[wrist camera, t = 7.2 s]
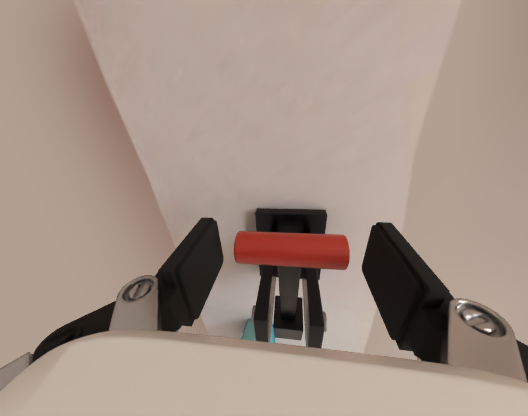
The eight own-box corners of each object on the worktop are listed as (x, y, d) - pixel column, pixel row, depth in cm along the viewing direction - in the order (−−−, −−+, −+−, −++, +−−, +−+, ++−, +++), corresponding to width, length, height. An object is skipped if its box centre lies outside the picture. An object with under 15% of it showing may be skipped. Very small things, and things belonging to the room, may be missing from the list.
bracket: (256, 208, 23) (227, 291, 13) (325, 209, 22) (355, 301, 12) (261, 269, 28) (242, 367, 17) (318, 273, 26) (334, 379, 16)
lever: (240, 218, 10) (229, 260, 8) (343, 221, 9) (354, 267, 7) (261, 306, 18) (258, 335, 16) (316, 311, 17) (318, 342, 16)
